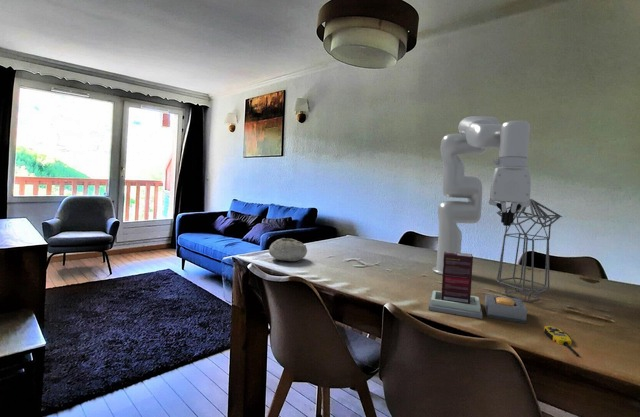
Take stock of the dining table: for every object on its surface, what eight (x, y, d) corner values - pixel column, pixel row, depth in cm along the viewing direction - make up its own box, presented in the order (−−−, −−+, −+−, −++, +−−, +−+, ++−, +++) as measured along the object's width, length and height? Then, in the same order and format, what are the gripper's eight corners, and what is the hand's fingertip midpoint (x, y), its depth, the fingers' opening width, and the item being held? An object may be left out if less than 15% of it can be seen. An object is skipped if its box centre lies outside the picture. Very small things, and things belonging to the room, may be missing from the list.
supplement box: (469, 302, 111) (472, 253, 109) (469, 307, 106) (473, 256, 105) (440, 298, 114) (443, 250, 112) (440, 302, 109) (443, 253, 108)
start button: (494, 305, 108) (495, 296, 107) (512, 308, 106) (513, 298, 105) (496, 311, 103) (496, 301, 103) (515, 314, 101) (515, 304, 101)
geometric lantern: (529, 307, 111) (539, 200, 108) (486, 292, 125) (494, 197, 122) (557, 301, 119) (567, 200, 116) (513, 287, 132) (521, 197, 130)
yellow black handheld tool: (559, 325, 94) (590, 352, 79) (559, 332, 94) (589, 360, 79) (540, 323, 95) (566, 349, 80) (539, 330, 95) (566, 357, 80)
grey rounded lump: (308, 257, 171) (309, 237, 170) (303, 266, 154) (304, 243, 153) (273, 255, 173) (274, 235, 172) (264, 263, 155) (265, 241, 154)
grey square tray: (431, 296, 119) (431, 288, 118) (479, 303, 113) (479, 295, 113) (428, 310, 106) (429, 301, 105) (482, 318, 100) (482, 309, 100)
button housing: (484, 306, 111) (485, 294, 111) (519, 311, 107) (520, 299, 107) (487, 317, 102) (488, 304, 101) (525, 323, 98) (527, 310, 98)
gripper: (485, 162, 101) (480, 224, 102) (544, 164, 95) (538, 229, 97) (483, 164, 108) (478, 222, 109) (538, 165, 102) (532, 226, 104)
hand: (506, 225), depth 103 cm, fingers closed
